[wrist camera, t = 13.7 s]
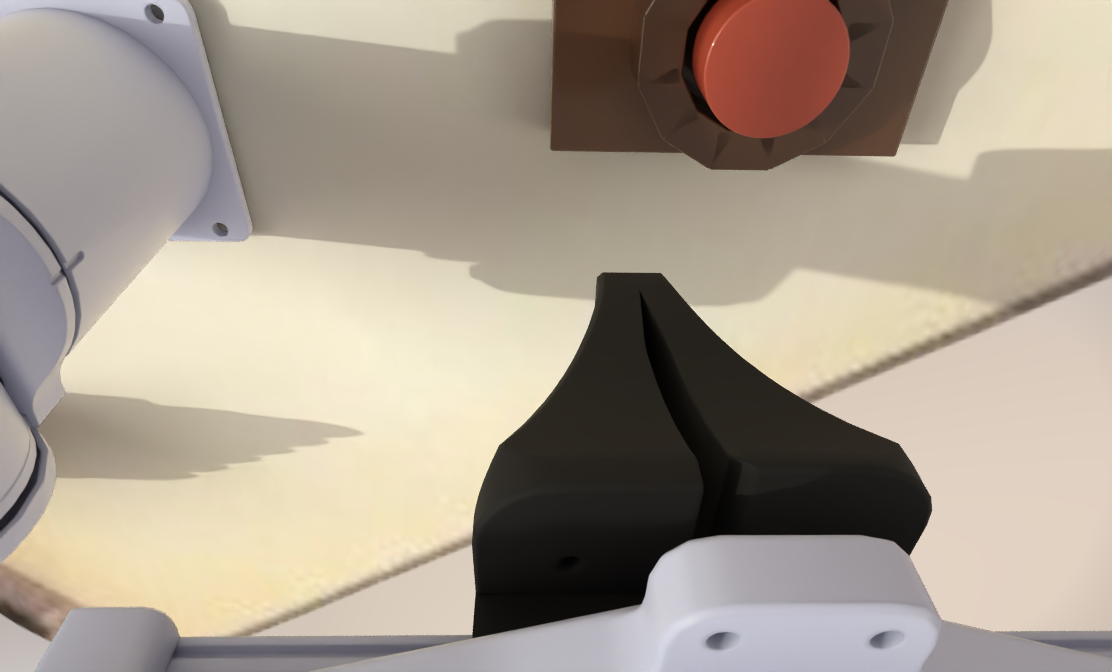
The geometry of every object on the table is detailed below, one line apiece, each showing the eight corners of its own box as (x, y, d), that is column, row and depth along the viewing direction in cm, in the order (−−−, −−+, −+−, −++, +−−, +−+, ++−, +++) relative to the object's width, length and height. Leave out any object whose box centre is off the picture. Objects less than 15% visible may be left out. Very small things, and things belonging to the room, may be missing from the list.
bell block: (549, 131, 23) (551, 175, 20) (554, -122, 18) (557, -111, 16) (874, 137, 23) (921, 181, 20) (953, -110, 19) (1025, -97, 16)
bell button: (682, 115, 19) (693, 137, 18) (702, -27, 17) (716, -14, 16) (808, 117, 19) (828, 140, 18) (843, -24, 17) (870, -10, 16)
